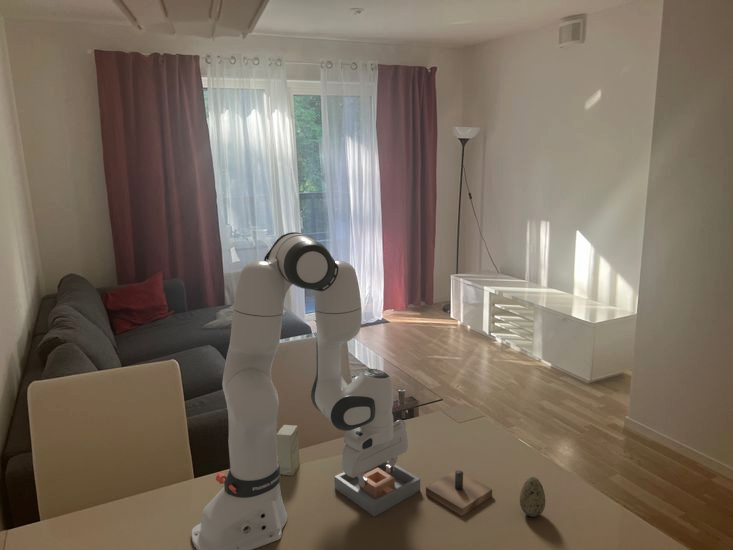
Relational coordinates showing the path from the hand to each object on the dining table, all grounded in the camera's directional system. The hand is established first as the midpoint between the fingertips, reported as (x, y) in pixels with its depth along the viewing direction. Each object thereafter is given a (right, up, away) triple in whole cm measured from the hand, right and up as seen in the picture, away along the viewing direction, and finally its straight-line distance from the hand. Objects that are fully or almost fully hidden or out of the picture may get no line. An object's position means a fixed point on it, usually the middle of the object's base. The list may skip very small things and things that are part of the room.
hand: (377, 478), depth 142 cm
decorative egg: (+37, -5, -10) cm, 39 cm away
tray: (0, -3, +1) cm, 3 cm away
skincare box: (-25, -2, +11) cm, 27 cm away
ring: (0, -3, +1) cm, 3 cm away
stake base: (+21, -4, -2) cm, 22 cm away
